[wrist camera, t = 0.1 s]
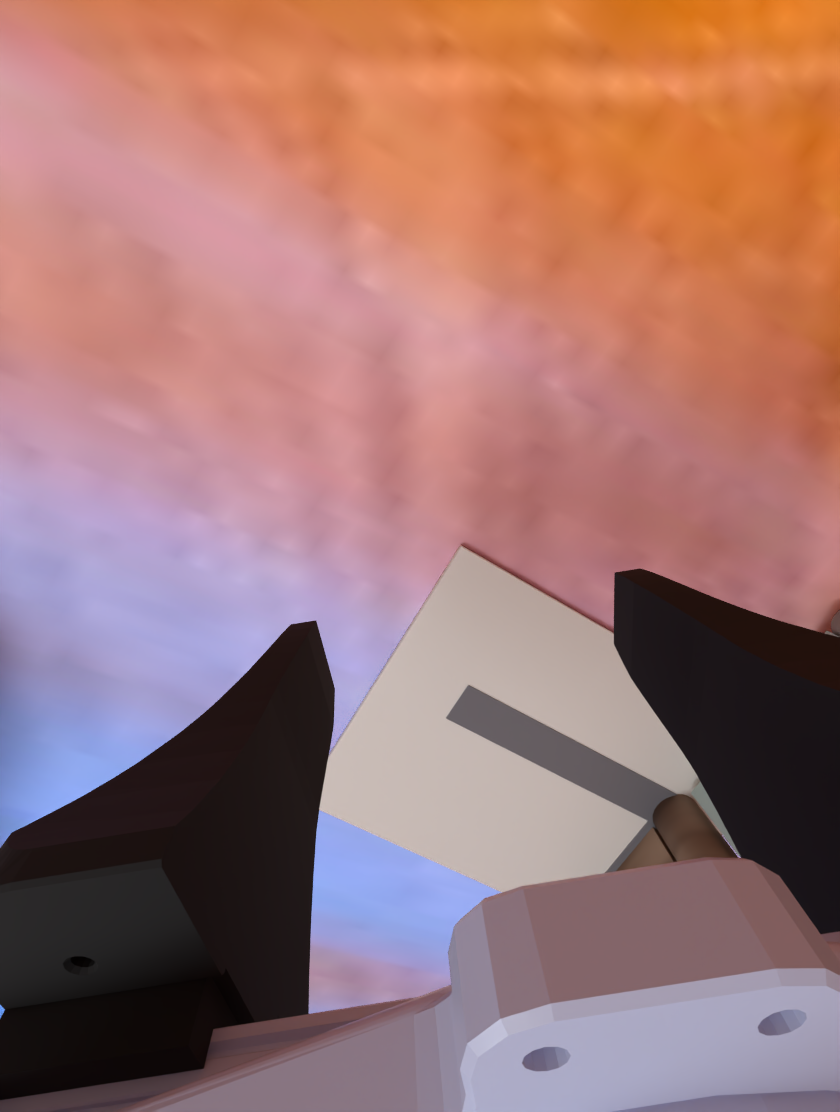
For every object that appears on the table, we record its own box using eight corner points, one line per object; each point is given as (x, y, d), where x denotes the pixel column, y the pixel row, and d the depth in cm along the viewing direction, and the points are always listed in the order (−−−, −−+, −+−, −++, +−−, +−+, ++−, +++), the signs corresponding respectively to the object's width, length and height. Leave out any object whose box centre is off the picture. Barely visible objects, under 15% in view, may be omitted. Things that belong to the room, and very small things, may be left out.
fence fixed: (607, 924, 28) (655, 1043, 23) (571, 907, 28) (612, 1025, 23) (707, 806, 27) (786, 906, 21) (671, 786, 26) (741, 883, 21)
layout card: (621, 941, 29) (624, 948, 29) (302, 797, 26) (300, 802, 26) (798, 738, 26) (803, 743, 26) (460, 544, 23) (461, 546, 22)
